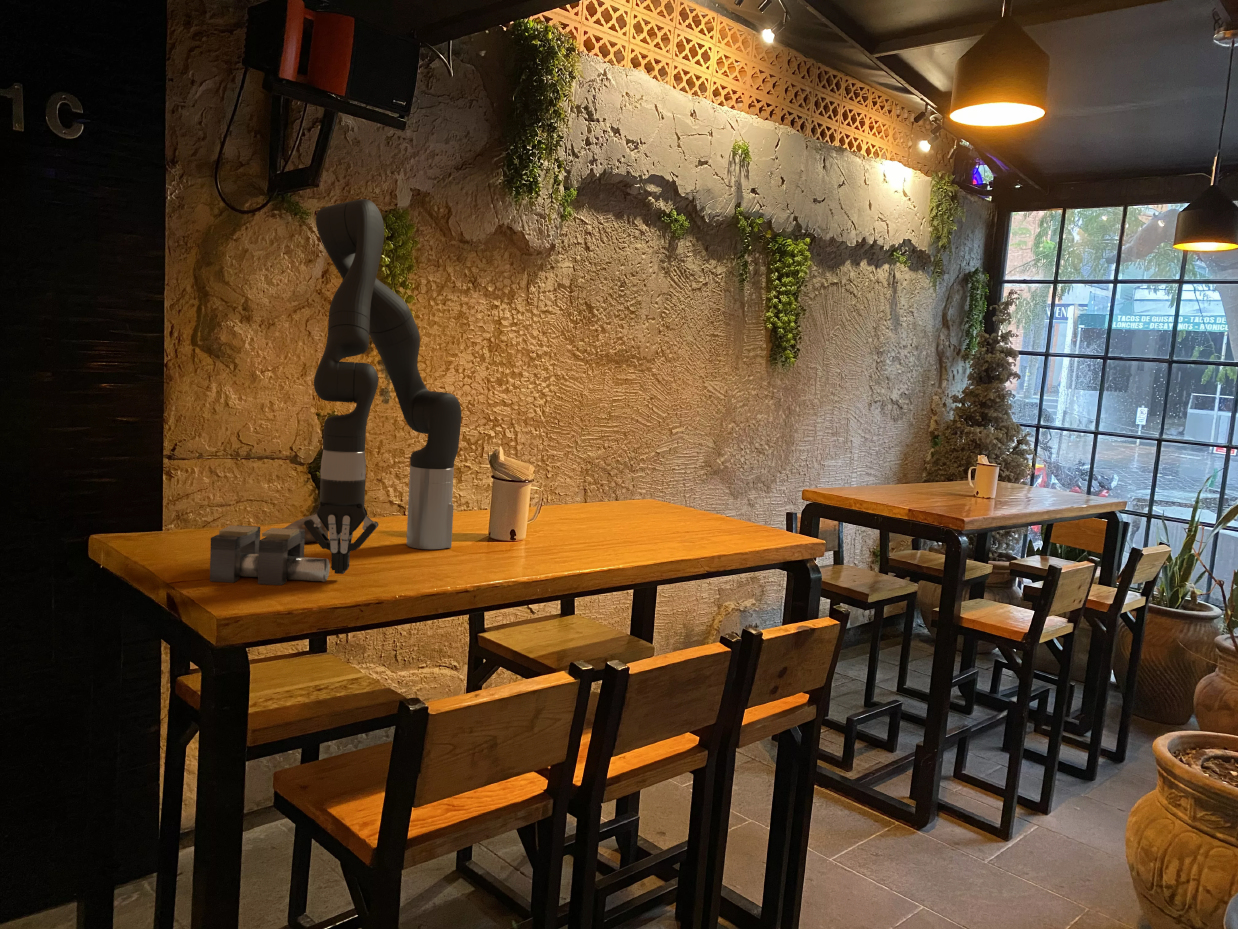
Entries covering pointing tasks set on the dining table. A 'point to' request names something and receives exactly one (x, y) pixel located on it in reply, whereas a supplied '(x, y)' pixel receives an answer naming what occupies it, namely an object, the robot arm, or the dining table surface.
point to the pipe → (300, 525)
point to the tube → (289, 567)
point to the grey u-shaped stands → (254, 552)
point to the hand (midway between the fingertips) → (339, 572)
